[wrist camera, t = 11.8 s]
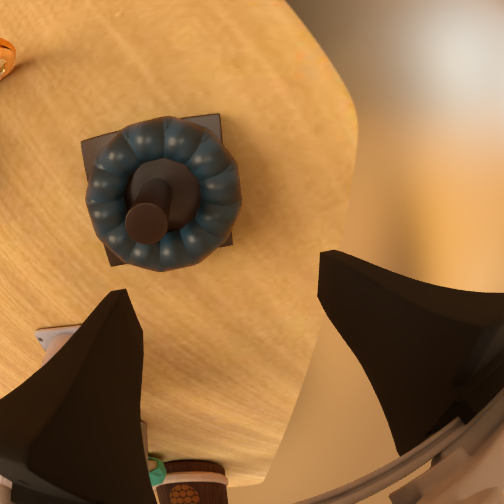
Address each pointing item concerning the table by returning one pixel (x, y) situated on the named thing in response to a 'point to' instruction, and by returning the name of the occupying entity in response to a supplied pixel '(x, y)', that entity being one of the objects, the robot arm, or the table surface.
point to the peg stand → (156, 191)
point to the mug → (193, 483)
